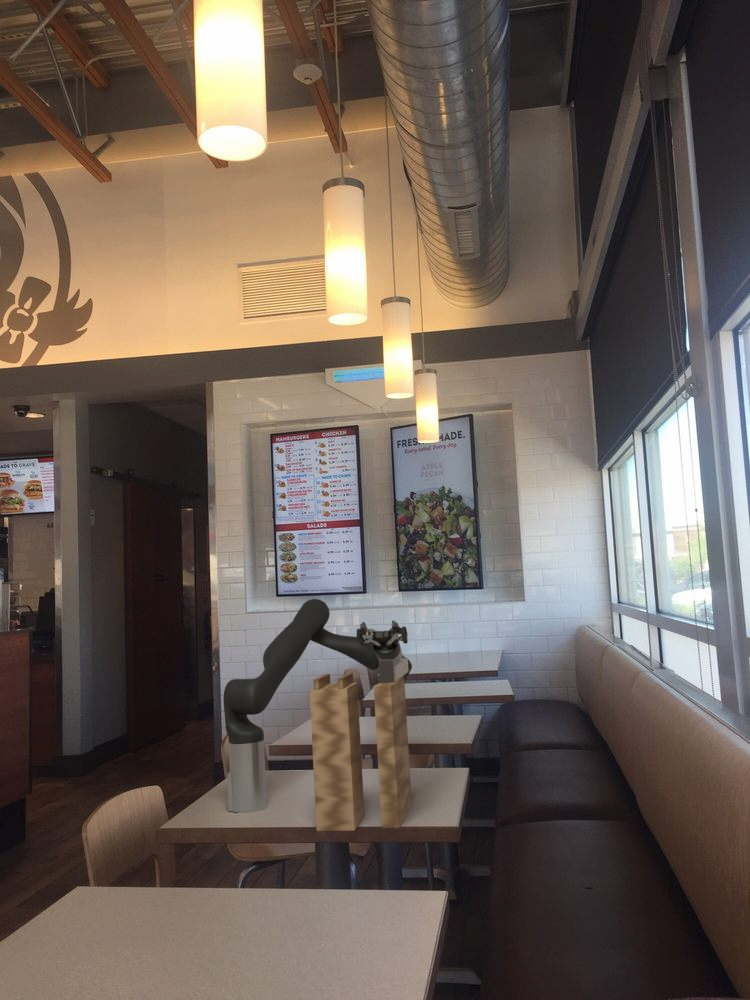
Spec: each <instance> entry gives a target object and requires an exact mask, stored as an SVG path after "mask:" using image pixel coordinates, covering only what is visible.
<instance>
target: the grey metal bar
mask: <svg viewBox="0 0 750 1000" xmlns="http://www.w3.org/2000/svg"><path fill="white" fill-rule="evenodd" d="M408 658H409V657H406V658H396V659H382V660H380V661H378V663H379V667H378V678H379V679H378V680H379V683H394V682H396V681H397V680H398V679H399V678H401V677H402V676H403V675H405V674H406V673H407V672H408V671H409V670H408V660H409V659H408Z"/></svg>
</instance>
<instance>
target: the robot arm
mask: <svg viewBox="0 0 750 1000" xmlns="http://www.w3.org/2000/svg"><path fill="white" fill-rule="evenodd" d="M329 618H330V609H329V606H328V605H327V603H326V602H324V601H323V600H321V599H318V598H312V599H308V600H306V601H305V602H304V603H302V605H301V607H300V608H299V609H298V611H297V613H296V614H295V616H294V618H293V620H292V621H291V622H290V623H289V624H288V625H287V626H286V627H285V628H284V629H282V631H281V632H280V633H278V635H277V636H276V637H274V638H273V640H271V642H270V644H269V645H268V646H267V647H266V648H265V650H264V652H263V655H262V664H263V669H264V670H263V671H262V673H261V674H260V675H258V676H257V677H255V678H234V679H233V678H232V679H231V680H229V681H228V682H227V683H226V685H225V686H224V691H223V711H224V712H223V713H224V722H225V724H224V725H225V731H226V734H227V736H228V757H229V758H228V759H229V761H228V762H229V771H228V773H227V774H226V779H227V784H226V785H227V802H228V804H227V806H228V810H227V811H228V812H234V813H243V814H244V813H254V812H259V811H262V810H264V809H266V808H267V805H268V804H267V801H268V797H267V780H266V779H267V777H266V757H265V756H266V755H265V753H266V752H265V733H264V729H263V728H262V727H260V726H259V725H256V724H255V723H253V722H252V721H251V720H250V719H249V717H248V716H250V715H253V716H254V715H259V714H260V713H262V712H264V711H265V709H266V708H267V707H268V705H269V704H270V702H271V700H272V699H273V697H274V695H275V694H276V691H277V690H278V688H279V686H280V685H281V684H282V682H283V681H284V679H285V678H286V677H287V675H288V674H289V672H290V671H291V670H292V668H294V667H295V665H296V664H297V662H298V661H299V660H300V658H301V657H302V656H303V654H304V652H305V650H306V648H307V647H308V645H309V643H310V641H311V642H314V643H316V644H318V645H321V646H323V647H326V648H327V649H329V650H330V649H331V650H333V651H335V652H337V653H341V654H343V655H345V656H346V657H349V658H351V659H352V660H354V661H356V662H357V663H359V664H360V665H362V666H364V667H365V668H367V669H369V670H371V671H376V670H377V669H379V663H378V661H380V660H382V659H396V658H407V657H406V656H404V655H403V653H402V652H403V651H402V647H401V645H400V642H402V643H403V644H406V645H407V644H408V639H409V638H408V636H409V635H408V629H407V627H406V626H403V625H402V627H401V626H400V625H399V624H398V622H397V621H396V620H392V621H391V628H390V629H388V630H375V629H373V628H368V627H367V624H366V622H364V621H363V622H361V623H360V624H359V628H357V629H356V636H350V635H342V634H338V633H337V634H336V633H333V632H330V631H329V630H328V629H326V628H325V626H326V624H327V623H328V621H329ZM399 635H400V636H399ZM412 667H413V665H412V662H411V660H410V659H408V670H409V671H408V672H407V673H406V674H405V675H403V676H404V682H406V681H407V678H408V677H409V675H410V672H411V671H412Z"/></svg>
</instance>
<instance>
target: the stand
mask: <svg viewBox="0 0 750 1000" xmlns="http://www.w3.org/2000/svg"><path fill="white" fill-rule="evenodd" d="M336 680H337V683H331V674H330V673H325V674H322V675H321V676H318V677H316V678H314V679H313V688H312V689H309V705H310V724H311V725H310V726H311V742H312V743H311V745H312V761H313V762H312V763H313V765H312V767H313V782H314V785H313V786H314V787H313V788H314V803H315V804H314V805H315V823H316V825H315V827H316V832H330V831H331V832H334V831H335V832H336V831H337V832H339V831H340V832H351V831H353V832H354V831H356V830H357V828H358V826H359V825H360V823H361V822H362V821H363V819H364V818H365V798H364V782H363V766H362V765H363V763H362V745H361V728H360V726H361V725H360V708H359V690H358V682H354V673H353V672H347V673H345V674H344V675H342V676H340V677H338V678H337V679H336ZM405 682H406V681H405ZM405 682H404V676H402V677H401V678H399V679H398V680H397V681H396V682H394V683H380V682H378V683H377V684H375V685H374V687H373V697H374V699H373V700H374V714H375V730H376V731H375V733H376V746H377V747H376V749H377V765H378V766H377V767H378V784H379V786H378V787H379V800H380V801H379V802H380V804H379V805H380V820H381V821H380V822H381V828H382V829H393V828H394V829H399V828H400V826H401V825H402V823H403V821H404V818H405V817H406V814H407V813H408V811H409V809H410V807H411V805H412V802H413V801H412V800H413V799H412V785H411V784H412V783H411V782H412V781H411V780H412V779H411V768H410V767H411V766H410V748H409V737H408V732H409V731H408V720H407V719H408V717H407V716H408V715H407V704H406V703H407V701H406V686H405V684H406V683H405Z"/></svg>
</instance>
